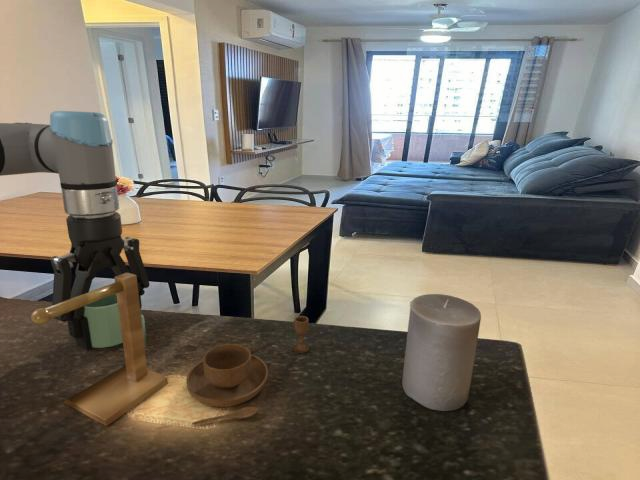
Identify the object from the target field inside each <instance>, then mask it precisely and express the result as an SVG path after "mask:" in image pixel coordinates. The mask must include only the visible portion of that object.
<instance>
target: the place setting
mask: <svg viewBox="0 0 640 480" xmlns="http://www.w3.org/2000/svg"><path fill="white" fill-rule="evenodd" d="M309 322H310V321H309V317H307V316H305V315H298V316H295V318H294V323H293V324H294V332H295V334H297V335H298V339H297V342H298V343H297V344H295V345H294V346H293V347H292V350H293V352H294V353H297V354H305V353H308V352H309V351H310V347H309V345H307V344H305V339H304V336H305V335H306V334H307V333H308V331H309V325H310V323H309ZM261 349H263V344H262V343H260V344H257V345H253V346H251V347H246V346H245V345H242V344H239V343H225V344H219V345H217V346H214V347H211V348H210V349H208V350H207V351H206V352H205V354H204V355H203V358H202V360H200V361H199V362H197V363H195V365H194V366H192V368H191V369H189V372H188V373H187V375H186V379H185V380H186V381H185V382H186V383H185V384H186V388H187V391H188V393H189V394H190V396H191V397H192V398H193V399H194V400H195V401H197V402H199V403H201V404H203V405H205V406H209V407H215V408H216V407H217V408H225V407H231V406H236V405H237V406H238V405H241V404H243V403H246V402H247V401H249V400H251V399H253V398H255V397H256V396H257V395H258V394H260V392H262V390H263V389H264V387H265V386H266V384H267V383H268V379H269V369H268V365H267V364H266V362H265V361H264V360H263V359H262V358H260V357H258V356H257V355H254V354H252V352H255V351H257V350H261ZM258 412H259V408H257V407H255V406H245V407H242V408H239V409H237V410H236V411H234V412H233V413H232V412H231V413H227V414H223V415H218V416H213V417H208V418H204V419H200V420H195V421H193V422H192V423H191V425H193V426H194V425H202V424H207V423H210V422H215V421H219V420H222V419H223V420H224V419H228V418H235V419H238V420H241V419H248V418H251V417H253V416H255V415H256V414H257V413H258Z"/></svg>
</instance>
